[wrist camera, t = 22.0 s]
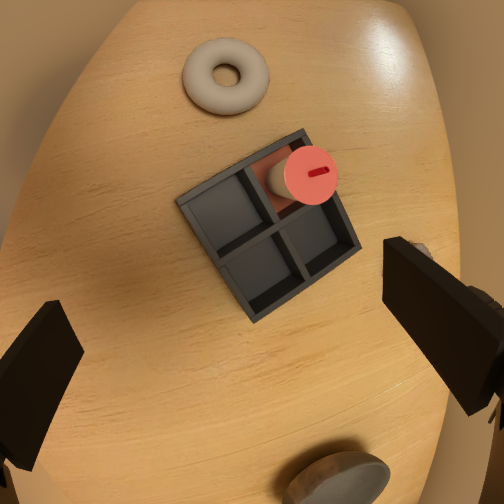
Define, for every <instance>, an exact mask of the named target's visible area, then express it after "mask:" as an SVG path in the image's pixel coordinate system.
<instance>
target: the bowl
mask: <svg viewBox="0 0 504 504" xmlns="http://www.w3.org/2000/svg"><path fill="white" fill-rule="evenodd" d="M389 479H390V469H389V467H388V466H387V465H386V464H385V463H384V462H383V461H382V460H380V459H379V458H377V457H375V456H373V455H371V454H368V453H365V452H360V451H344V452H338V453H335V454H332V455H329V456H326V457H324V458H321V459H319V460H317V461H315V462H314V463H312V464H310V465H309V466H308V467H306V468H305V469H304V470H303V471H302V472H301V473H300V474H298V475H297V476H296V477H295V478H294V479H293V480H292V482H291V483H290V485H289V486H288V488H287V490H286V492H285V494H284V497H283V500H282V504H372V503H373V502H374V501H375V500H376V499H377V497H378V496H379V495H380V494H381V493H382V491H383V490H384V488H385V487H386V485H387V483H388V481H389Z"/></svg>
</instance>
